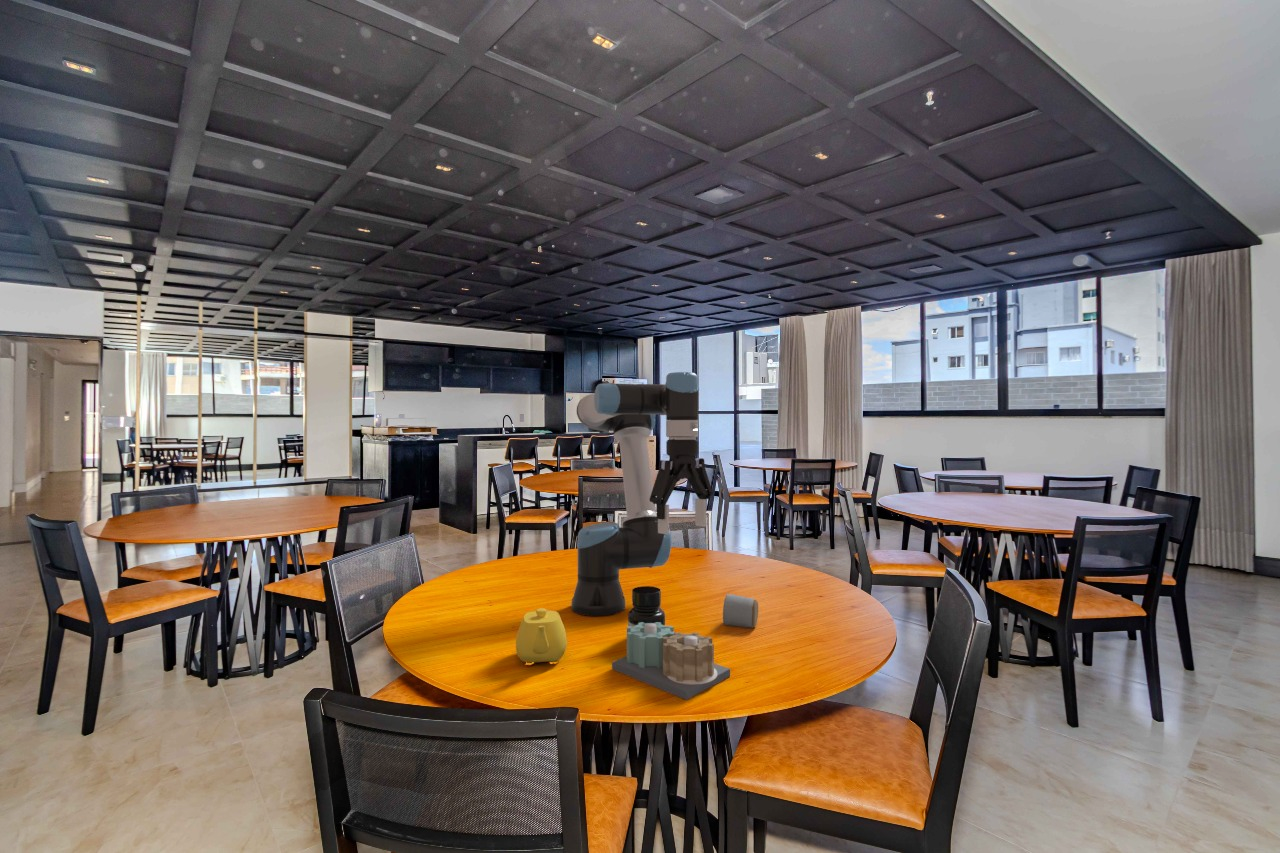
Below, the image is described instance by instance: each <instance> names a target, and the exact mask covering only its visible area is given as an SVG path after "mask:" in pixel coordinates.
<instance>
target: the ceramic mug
mask: <svg viewBox="0 0 1280 853" xmlns="http://www.w3.org/2000/svg"><path fill="white" fill-rule="evenodd" d="M758 617H759V602H758V600H757V599H755V598H752V597H748V596H747V597H746V596H741V595H736V594H731V593H727V594H726V595H725V597H724V600H723V607H722V622H723V624H724V625H725V626H731V627H740V628H755V627H756V626H757V623H758V619H759V618H758Z"/></svg>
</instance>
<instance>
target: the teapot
mask: <svg viewBox="0 0 1280 853" xmlns="http://www.w3.org/2000/svg"><path fill="white" fill-rule="evenodd" d="M515 640H516V641H515V651H516V653H517V655H518V657H519V659H520V660H521V661H522V662H524V663H525V662H527V663H532V662H534V663H542V662H543V663H544V662H548V661H549V662H557V661H558V662H559V660H560V659H561V658H562V657H563V656H564V654H565V652H566V649H567V644H568V640H567V633H566V629H565V625H564V623H563V621H562V618H561V616H560V613H559V612H557V611H556V610H548V609H546V608H544V607H541V608H537V609H535V611H534V610H533V611H529V612H528V611H527V613H525V614H524V616H523V618H522V620H521V622H520V624H519V627H518V631H517V634H516V639H515ZM549 662H548V663H549Z"/></svg>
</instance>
